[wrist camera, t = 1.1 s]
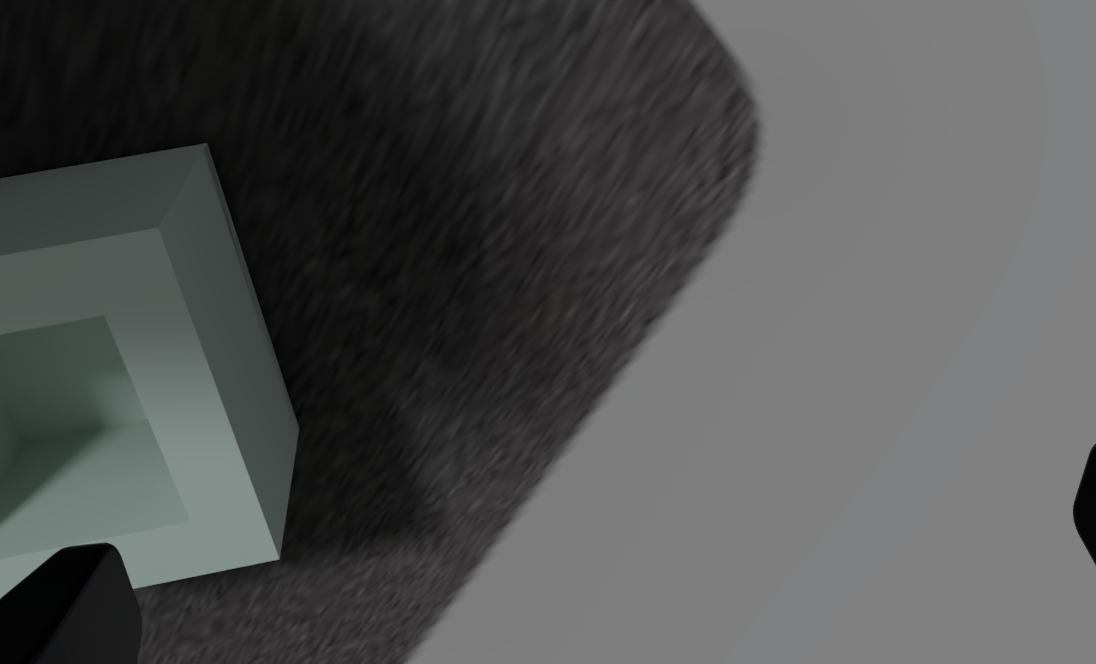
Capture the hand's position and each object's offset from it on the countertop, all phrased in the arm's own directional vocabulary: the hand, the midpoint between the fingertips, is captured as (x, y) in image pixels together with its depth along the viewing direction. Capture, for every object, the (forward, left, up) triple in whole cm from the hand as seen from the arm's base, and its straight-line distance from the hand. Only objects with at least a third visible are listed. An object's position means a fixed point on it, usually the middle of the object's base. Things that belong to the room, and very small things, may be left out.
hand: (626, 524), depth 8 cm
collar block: (-9, -3, -12) cm, 16 cm away
